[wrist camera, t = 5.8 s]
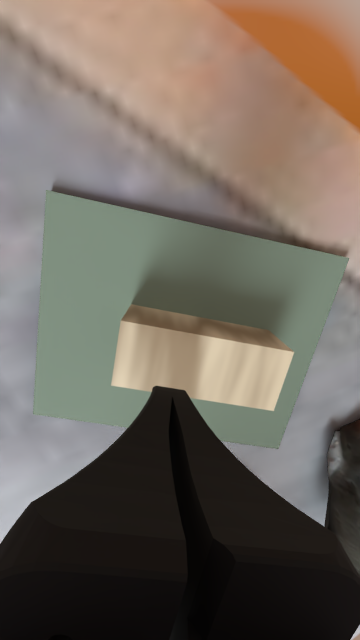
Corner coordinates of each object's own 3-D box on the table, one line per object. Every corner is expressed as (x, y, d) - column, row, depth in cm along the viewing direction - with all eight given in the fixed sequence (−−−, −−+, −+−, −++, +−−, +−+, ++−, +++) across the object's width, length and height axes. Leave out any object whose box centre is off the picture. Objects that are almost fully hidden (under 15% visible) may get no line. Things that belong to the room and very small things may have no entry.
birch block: (111, 385, 15) (273, 410, 16) (120, 320, 14) (294, 352, 15) (122, 356, 19) (253, 378, 20) (131, 304, 18) (268, 330, 19)
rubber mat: (36, 409, 20) (33, 414, 20) (50, 192, 16) (46, 189, 16) (275, 443, 22) (278, 448, 22) (343, 257, 18) (349, 258, 17)
